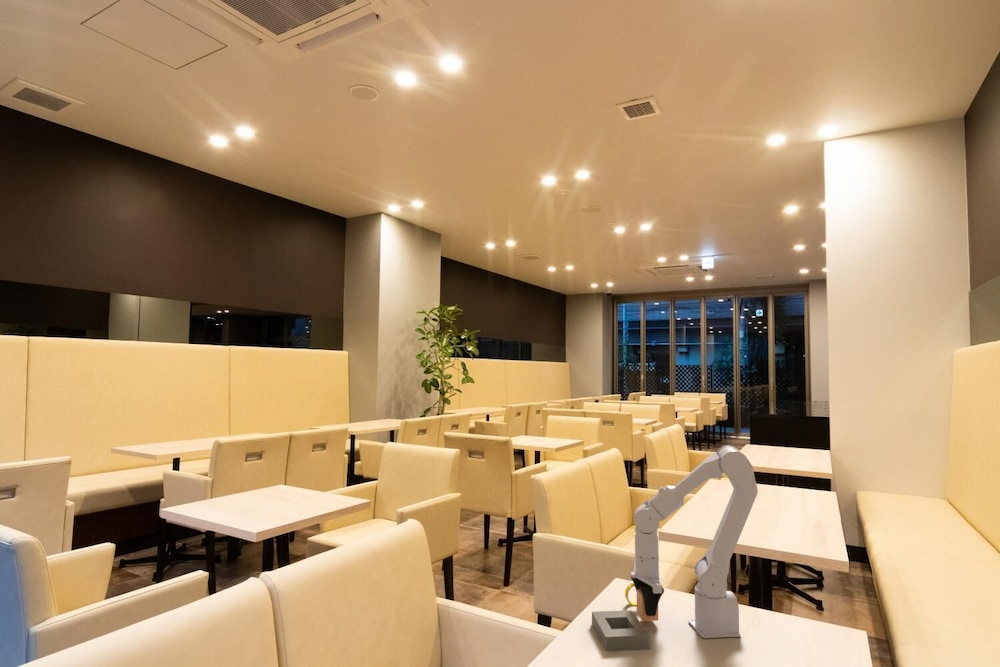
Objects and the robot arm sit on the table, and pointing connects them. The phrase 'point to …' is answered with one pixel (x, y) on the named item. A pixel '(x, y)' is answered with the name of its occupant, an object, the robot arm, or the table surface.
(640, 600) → the plug
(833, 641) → the table surface
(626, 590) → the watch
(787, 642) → the table surface
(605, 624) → the socket block
